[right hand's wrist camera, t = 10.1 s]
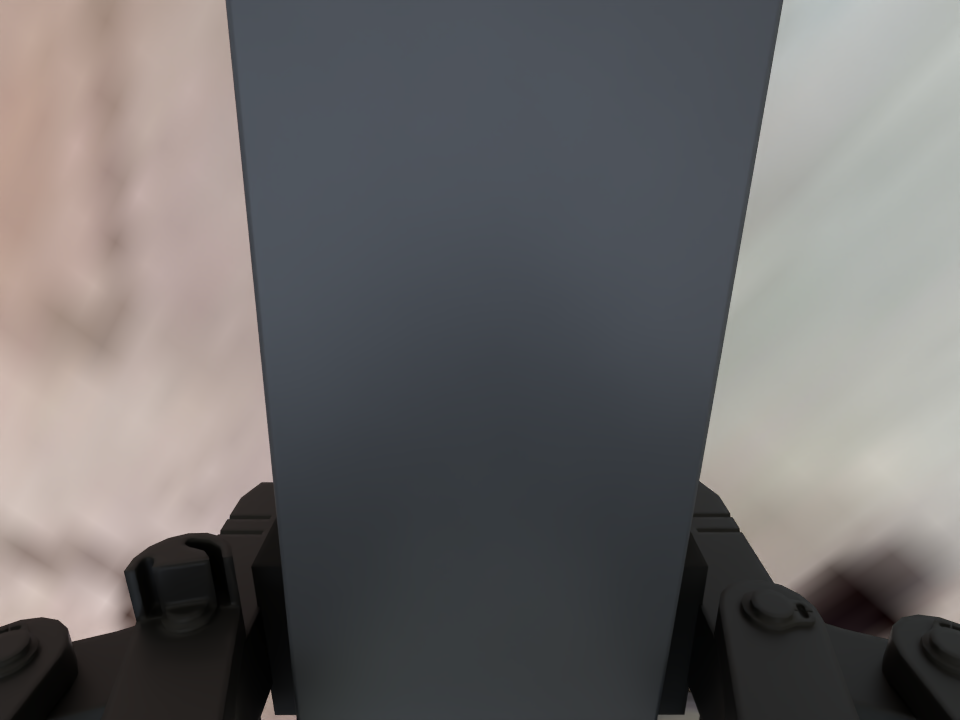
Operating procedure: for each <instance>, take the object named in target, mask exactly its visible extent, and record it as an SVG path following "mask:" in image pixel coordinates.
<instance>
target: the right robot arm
mask: <svg viewBox="0 0 960 720" xmlns="http://www.w3.org/2000/svg"><path fill="white" fill-rule="evenodd" d="M124 574H125V578H126V582H127V586H128V589H129V593H130V597H131V601H132V605H133V609H134V613H135V617H136V621H137V622H136V625H135V626H133V627H130V628H126V629H123V630H120V631H116V632H112V633H108V634H104V635H99V636H95V637H91V638H86V639H82V640H78V641H74V642H72V641H71V638H70V635H69V631H68V628H67V627H66V626H64V625H63V624H62V623H61V622H60V621H59V620H55V619H49V618H43V617H40V618H33V619H25V620H19V621H16V622H13V623H11V624H8V625H5V626H2V627H0V720H261V714H262V712H263V709H264V706H265V703H266V701H267V698H268V695H269V692H270V690H271V693H272V699H273V705H274V712H275V715H296V706H295V696H294V686H293V676H292V666H291V656H290V646H289V636H288V625H287V615H286V605H285V595H284V585H283V575H282V565H281V555H280V545H279V535H278V524H277V514H276V504H275V494H274V484H273V482H262V483H260V484H259V485H258V486H256V487H255V488H254V489H252V490H251V491H250V492H248V493H247V494H246V495H244V496H243V497H242V498H241V499H240V500H239V502H238V504H237V505H236V507H235V508H234V510H233V511H232V513H231V515H230V519H227V521H226V523H225V524H224V526H223V527H222V529H221V531H220V534H218V535H213V534H209V533H188V534H184V535H180V536H175V537H171V538H168V539H165V540H163V541H161V542H159V543H157V544H154V545H152V546H150V547H148V548H147V549H146V550H144V551H143V552H142V553H140V554H139V555H137V556H136V557H135V558H133V560H132V561H131V563H130V564H129V565H128V567H127V568H126V569H125V571H124ZM689 688H690V690H691V692H688V690H689ZM657 720H960V624H958V623H955V622H952V621H949V620H946V619H943V618H940V617H933V616H925V615H913V616H908V617H902V618H901V619H900V620H899V621H897V622H896V623H895V624H894V625H893V626H892V629H891V633H890V636H889V639H885V638H880V637H876V636H872V635H867V634H863V633H859V632H854V631H850V630H846V629H842V628H839V627H835V626H832V625H829V624H826V623H824V621H823V619H822V618H821V616H820V615H819V613H818V611H817V610H816V608H815V607H814V606H813V605H812V604H811V603H809V602H808V601H807V600H806V599H805V598H803V597H802V596H801V595H800V594H798V593H796V592H794V591H792V590H790V589H788V588H786V587H784V586H782V585H779V584H775V583H774V582H773V581H772V579H771V578H770V576H769V574H768V573H767V571H766V570H765V568H764V567H763V565H762V563H761V562H760V560H759V559H758V557H757V555H756V554H755V552H754V551H753V549H752V548H751V546H750V544H749V543H748V541H747V540H746V538H745V536H744V535H743V533H742V532H740V530H739V527H738V525H737V524H736V522H735V521H734V519H733V517H730V513H729V511H728V510H727V508H726V506H725V505H724V503H723V502H722V500H721V498H720V497H719V496H718V495H717V494H716V493H714V492H713V491H712V490H710V489H709V488H708V487H706V486H705V485H704V484H702V483H701V482H700V481H699V484H698V490H697V496H696V501H695V507H694V513H693V518H692V524H691V530H690V536H689V541H688V547H687V553H686V558H685V564H684V570H683V576H682V581H681V587H680V593H679V598H678V604H677V610H676V616H675V621H674V627H673V633H672V638H671V644H670V650H669V656H668V661H667V667H666V673H665V679H664V684H663V690H662V696H661V701H660V707H659V713H658V719H657Z"/></svg>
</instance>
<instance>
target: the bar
mask: <svg viewBox="0 0 960 720" xmlns="http://www.w3.org/2000/svg"><path fill="white" fill-rule="evenodd" d="M782 4H783V0H226V9H227V19H228V29H229V39H230V50H231V60H232V70H233V80H234V90H235V100H236V110H237V120H238V130H239V141H240V151H241V161H242V171H243V181H244V191H245V201H246V211H247V221H248V231H249V242H250V252H251V262H252V272H253V282H254V292H255V302H256V312H257V322H258V332H259V343H260V353H261V363H262V373H263V383H264V393H265V403H266V413H267V423H268V433H269V444H270V454H271V464H272V474H273V484H274V494H275V504H276V514H277V524H278V535H279V545H280V555H281V565H282V575H283V585H284V595H285V605H286V615H287V625H288V636H289V646H290V656H291V666H292V676H293V686H294V696H295V706H296V716H297V720H657V719H658V713H659V707H660V701H661V696H662V690H663V684H664V679H665V673H666V667H667V661H668V656H669V650H670V644H671V638H672V633H673V627H674V621H675V616H676V610H677V604H678V598H679V593H680V587H681V581H682V576H683V570H684V564H685V558H686V553H687V547H688V541H689V536H690V530H691V524H692V518H693V513H694V507H695V501H696V496H697V490H698V484H699V478H700V473H701V467H702V461H703V456H704V450H705V444H706V438H707V433H708V427H709V421H710V416H711V410H712V404H713V398H714V393H715V387H716V381H717V376H718V370H719V364H720V358H721V353H722V347H723V341H724V336H725V330H726V324H727V318H728V313H729V307H730V301H731V295H732V290H733V284H734V278H735V273H736V267H737V261H738V255H739V250H740V244H741V238H742V233H743V227H744V221H745V215H746V210H747V204H748V198H749V193H750V187H751V181H752V175H753V170H754V164H755V158H756V153H757V147H758V141H759V135H760V130H761V124H762V118H763V113H764V107H765V101H766V95H767V90H768V84H769V78H770V73H771V67H772V61H773V55H774V50H775V44H776V38H777V33H778V27H779V21H780V15H781V10H782Z"/></svg>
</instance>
